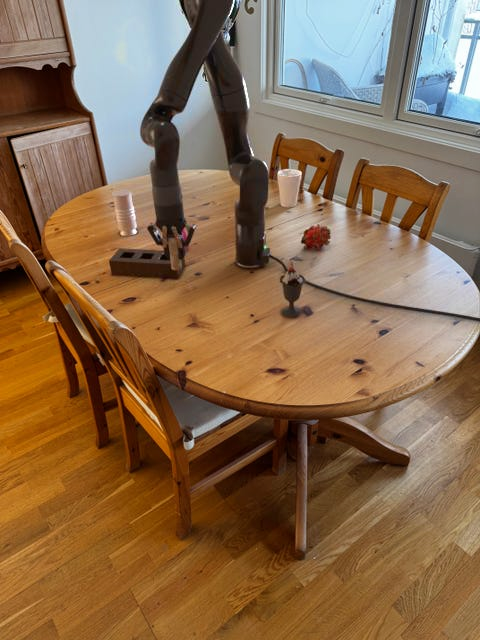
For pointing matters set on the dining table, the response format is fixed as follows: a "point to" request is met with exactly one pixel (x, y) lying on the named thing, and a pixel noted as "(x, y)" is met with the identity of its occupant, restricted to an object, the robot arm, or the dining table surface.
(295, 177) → the foam cup
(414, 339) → the dining table surface
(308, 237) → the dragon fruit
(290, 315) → the sundae
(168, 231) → the robot arm
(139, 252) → the dark brown hollow block
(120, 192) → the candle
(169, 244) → the peg
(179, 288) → the dining table surface
